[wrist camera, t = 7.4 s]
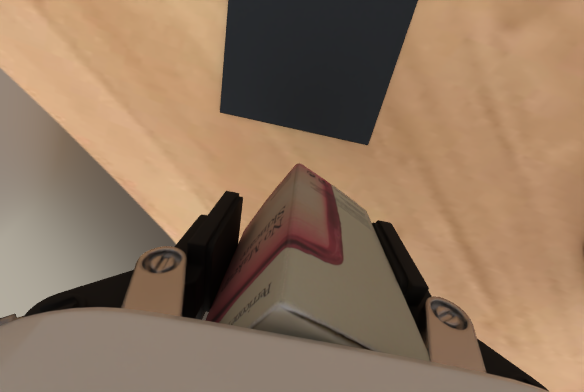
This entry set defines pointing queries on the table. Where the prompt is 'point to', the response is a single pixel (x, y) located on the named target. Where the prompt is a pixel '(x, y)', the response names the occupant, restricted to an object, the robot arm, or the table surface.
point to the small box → (316, 273)
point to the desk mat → (312, 62)
